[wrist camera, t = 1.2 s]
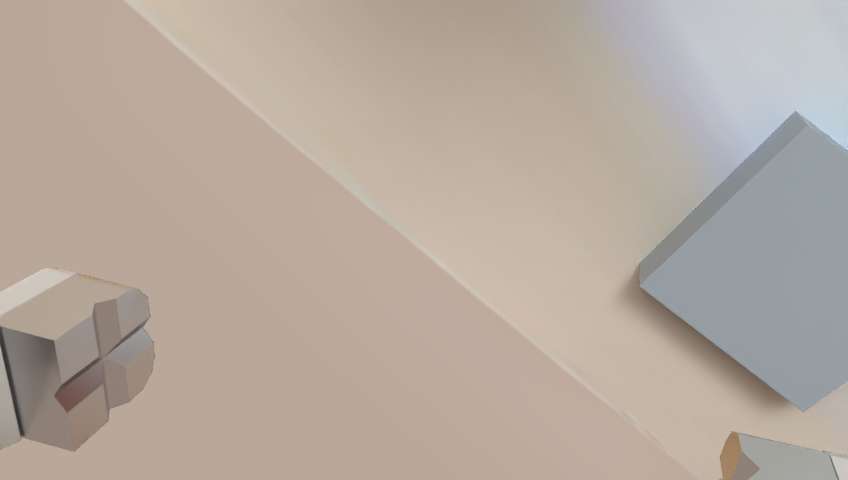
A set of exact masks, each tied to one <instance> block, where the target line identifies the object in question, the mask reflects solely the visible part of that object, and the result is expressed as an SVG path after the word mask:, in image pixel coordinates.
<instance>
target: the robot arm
mask: <svg viewBox="0 0 848 480" xmlns="http://www.w3.org/2000/svg"><path fill="white" fill-rule="evenodd" d="M150 317H151V315H150V308H149V303H148V296H146V295H145V294H144V293H143V292H142V291H141V290H139V289H137V288H133V287H129V286H125V285H122V284H117V283H114V282H110V281H106V280H103V279H98V278H95V277H91V276H87V275H81V274H79V273H75V272H71V271H67V270H63V269H58V268H44V269H42V270H40V271H38V272H36V273H35V274H33V275H31V276H29V277H27V278H25V279H23V280H22V281H20V282H18V283H16V284H15V285H12V286H11V287H9V288H7V289H5V290H3V291H1V292H0V450H1V449H3V448H5V447H7V446H10V445H12V444H14V443H17V442H19V441H21V437H22V438H26V439H30V440H33V441H37V442H41V443H44V444H48V445H52V446H55V447H59V448H63V449H66V450H70V451H76V450H77V449H78V448H79V447H80V446H81V445H82V444H83V443H85V442H86V441H87V440H88V439H89V438H90V437H91V436H92V435H93V434H94V433H96V432H97V431H98V430H99V429H100V428H101V427H102V426H104V424H106V423H107V422H108V418H109V410H110V409H111V408H114V407H117V406H120V405H123V404H125V403H128V402H130V401H131V400H132V399H133V398H134V397H135V396H136V395H137V394H139V393H140V392H141V391H142V390H143V388H144V386H145V384H146V382H147V381H148V379H149V377H150V375H151V373H152V370H153V363H154V358H155V353H154V342H153V340H152V339H151V337H150V336H149V335H148V333H147V332H146V330H145V329H144V327H143V326H144V325H145V323H146V322H147V321H148V319H149V318H150ZM720 460H721V467H722V475H723V478H722V479H720V480H848V456H845V455H841V454H836V453H831V452H826V451H822V452H821V451H816V450H812V449H808V448H803V447H799V446H795V445H790V444H786V443H781V442H777V441H773V440H768V439H764V438H759V437H755V436H751V435H746V434H742V433H737V432H733V431H732V432H731V433H730V435H729V437H728V438H727V440H726V442H725V445H724V448H723V450H722V453H721V456H720Z"/></svg>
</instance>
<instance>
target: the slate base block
mask: <svg viewBox="0 0 848 480" xmlns="http://www.w3.org/2000/svg"><path fill="white" fill-rule="evenodd" d="M639 287H641V288H642V289H643V290H645V291H646V292H647V293H648V294H650V295H651V296H652V297H654V298H655V299H656V300H658V301H659V302H660V303H662V304H663V305H664V306H665V307H667V308H668V309H669V310H671V311H672V312H673V313H675V314H676V315H677V316H679V317H680V318H681V319H682V320H684V321H685V322H686V323H688V324H689V325H690V326H692V327H693V328H694V329H696V330H697V331H698V332H699V333H701V334H702V335H703V336H705V337H706V338H707V339H709V340H710V341H711V342H713V343H714V344H715V345H716V346H718V347H719V348H720V349H722V350H723V351H724V352H726V353H727V354H728V355H730V356H731V357H732V358H733V359H735V360H736V361H737V362H739V363H740V364H741V365H743V366H744V367H745V368H747V369H748V370H749V371H750V372H752V373H753V374H754V375H756V376H757V377H758V378H760V379H761V380H762V381H764V382H765V383H766V384H767V385H769V386H770V387H771V388H773V389H774V390H775V391H777V392H778V393H779V394H781V395H782V396H783V397H784V398H786V399H787V400H788V401H790V402H791V403H792V404H794V405H795V406H796V407H798V408H799V409H800V410H801V411H803V412H804V411H805V410H807V409H808V408H810V407H811V406H812V405H814V404H815V403H817V402H818V401H819V400H821V399H822V398H824V397H825V396H827V395H828V394H829V393H831V392H832V391H834V390H835V389H836V388H838V387H839V386H841V385H842V384H844V383H845V382H846V381H848V151H847V150H846V149H845V148H843V147H842V146H841V145H839V144H838V143H837V142H835V141H834V140H833V139H832V138H830V137H829V136H828V135H826V134H825V133H824V132H823V131H821V130H820V129H819V128H817V127H816V126H815V125H813V124H812V123H811V122H810V121H808V120H807V119H806V118H804V117H803V116H802V115H800V114H799V113H798V112H797V111H795V112H794V113H793V114H792V115H791V116H790V117H789V118H788V119H787V120H786V121H785V122H784V123H783V124H782V125H781V126H780V127H779V128H778V129H777V130H776V131H775V132H774V133H773V134H772V135H771V136H770V137H769V138H768V139H767V140H765V141H764V142H763V143H762V144H761V145H760V146H759V147H758V148H757V149H756V150H755V151H754V152H753V153H752V154H751V155H750V156H749V157H748V158H747V159H746V160H745V161H744V162H743V163H742V164H741V165H740V166H739V167H738V168H737V169H736V170H735V171H734V172H733V173H732V174H731V175H730V176H729V177H728V178H727V179H726V180H725V181H724V182H723V183H722V184H720V185H719V186H718V187H717V188H716V189H715V190H714V191H713V192H712V193H711V194H710V195H709V196H708V197H707V198H706V199H705V200H704V201H703V202H702V203H701V204H700V205H699V206H698V207H697V208H696V209H695V210H694V211H693V212H692V213H691V214H690V215H689V216H688V217H687V218H686V219H685V220H684V221H683V222H682V223H681V224H680V225H679V226H678V227H677V228H676V229H674V230H673V231H672V232H671V233H670V234H669V235H668V236H667V237H666V238H665V239H664V240H663V241H662V242H661V243H660V244H659V245H658V246H657V247H656V248H655V249H654V250H653V251H652V252H651V253H650V254H649V255H648V256H647V257H646V258H645V259H644V260H643V261H642V262H641V263H640V264H639Z"/></svg>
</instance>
